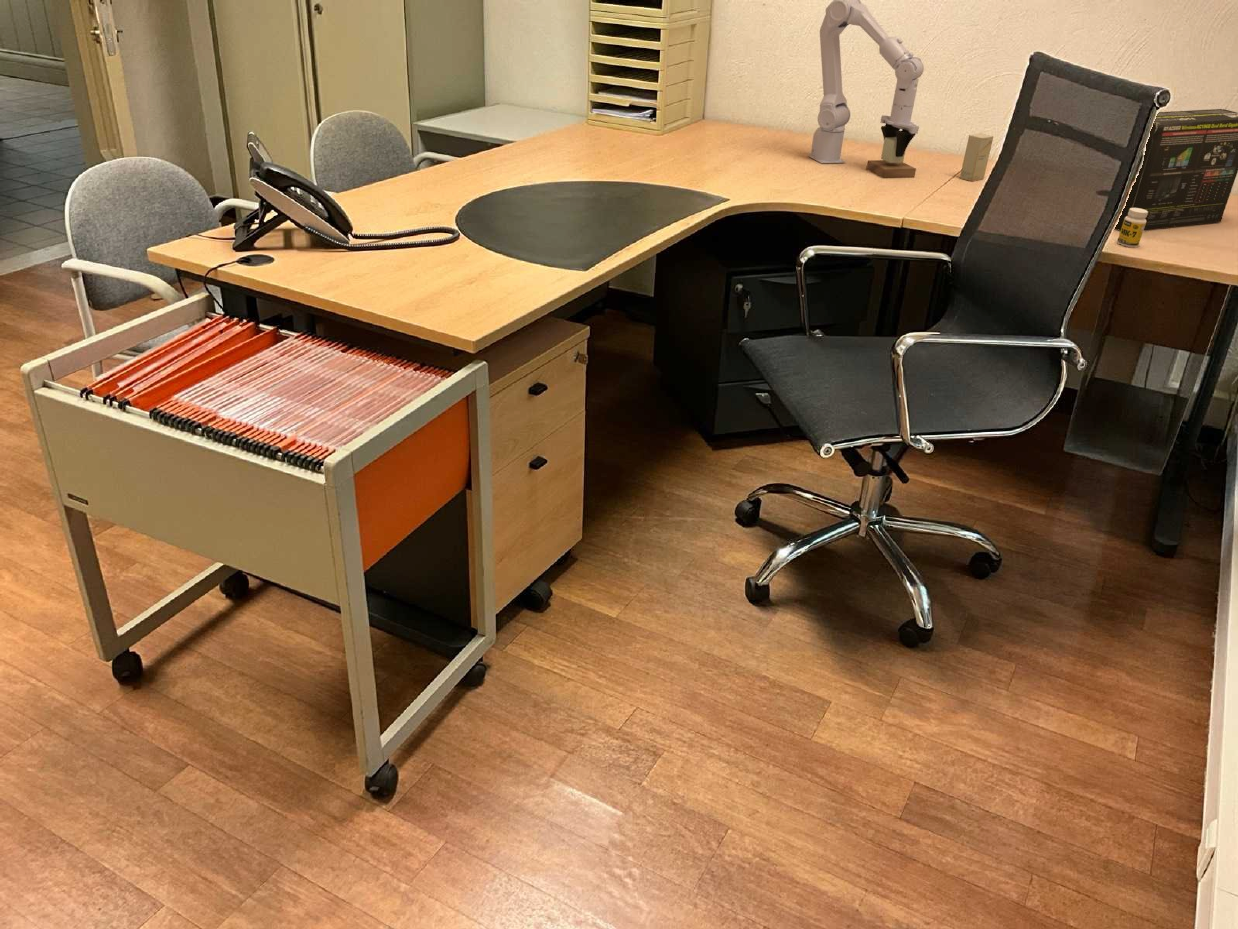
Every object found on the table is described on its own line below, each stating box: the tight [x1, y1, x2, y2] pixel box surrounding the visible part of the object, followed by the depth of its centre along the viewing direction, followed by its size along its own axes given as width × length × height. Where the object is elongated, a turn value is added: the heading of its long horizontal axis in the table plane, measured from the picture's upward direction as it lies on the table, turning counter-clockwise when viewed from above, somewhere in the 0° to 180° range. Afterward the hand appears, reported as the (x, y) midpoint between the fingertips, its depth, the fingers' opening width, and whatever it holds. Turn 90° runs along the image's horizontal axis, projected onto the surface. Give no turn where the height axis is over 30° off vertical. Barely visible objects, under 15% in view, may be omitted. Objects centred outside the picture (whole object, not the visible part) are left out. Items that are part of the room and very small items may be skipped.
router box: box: [1114, 108, 1238, 231], centre depth 248 cm, size 36×11×27 cm, turn 114°
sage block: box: [880, 137, 906, 163], centre depth 281 cm, size 4×4×6 cm
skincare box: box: [959, 133, 994, 182], centre depth 281 cm, size 6×4×12 cm
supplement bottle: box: [1116, 208, 1148, 248], centre depth 234 cm, size 5×5×8 cm
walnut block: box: [866, 159, 917, 180], centre depth 284 cm, size 10×10×3 cm
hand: (893, 154), depth 282 cm, fingers closed on sage block, 4 cm apart
